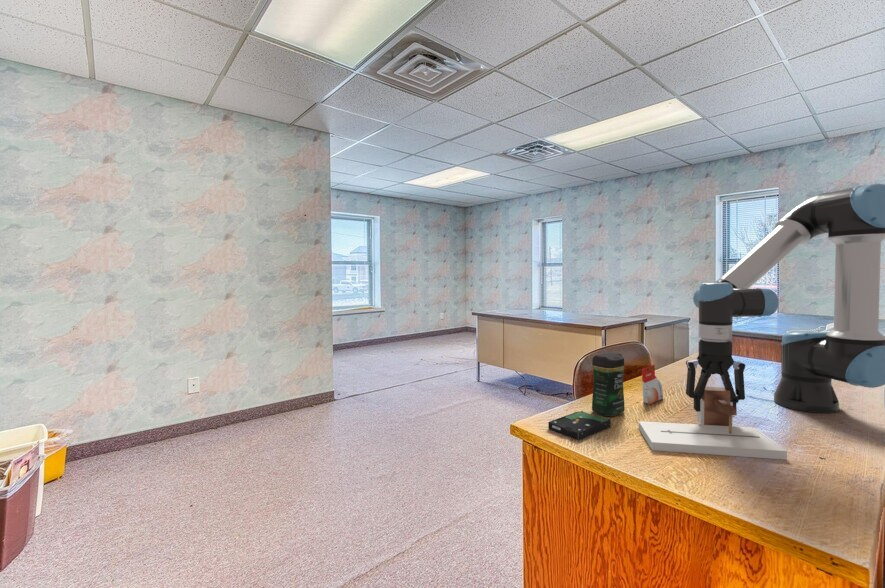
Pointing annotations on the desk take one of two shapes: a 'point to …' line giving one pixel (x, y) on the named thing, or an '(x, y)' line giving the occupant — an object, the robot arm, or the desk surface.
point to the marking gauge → (718, 407)
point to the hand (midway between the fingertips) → (714, 423)
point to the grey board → (710, 440)
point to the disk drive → (579, 425)
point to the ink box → (651, 386)
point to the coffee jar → (608, 384)
